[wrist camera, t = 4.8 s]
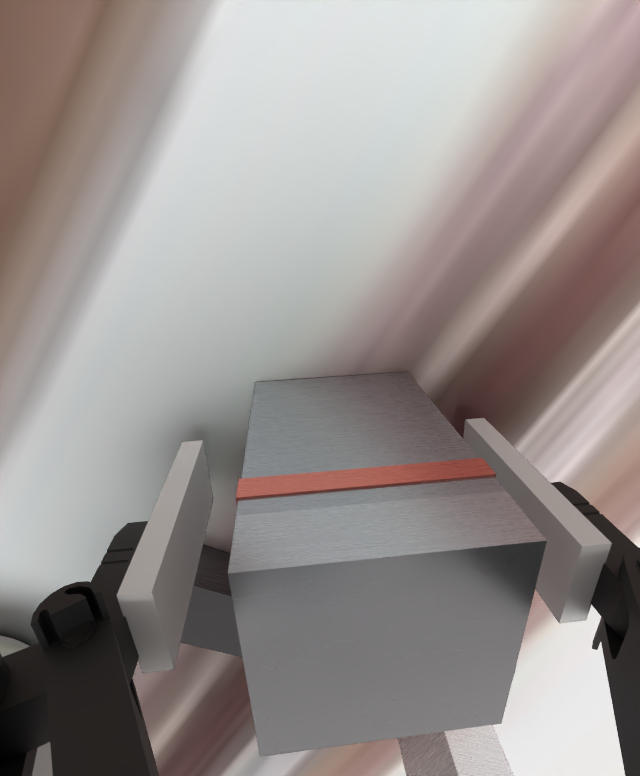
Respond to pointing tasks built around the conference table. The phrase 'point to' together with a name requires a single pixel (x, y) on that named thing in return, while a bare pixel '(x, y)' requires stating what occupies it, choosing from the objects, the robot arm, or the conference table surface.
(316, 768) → the conference table surface
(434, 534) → the red-striped grey block
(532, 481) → the robot arm
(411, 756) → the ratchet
